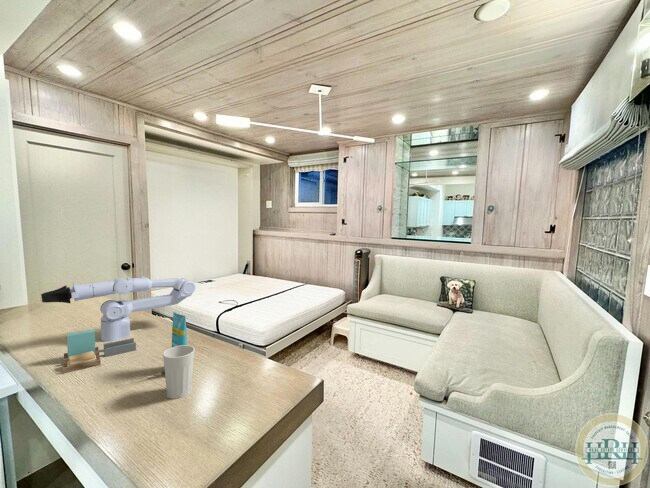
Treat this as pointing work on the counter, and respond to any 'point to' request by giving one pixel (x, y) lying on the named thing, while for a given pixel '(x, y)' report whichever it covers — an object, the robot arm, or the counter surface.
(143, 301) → the robot arm
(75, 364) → the offcut low
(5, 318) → the counter surface
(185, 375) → the cup
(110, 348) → the holder
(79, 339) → the teal block
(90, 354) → the offcut top
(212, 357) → the counter surface
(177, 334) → the tube
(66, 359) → the rack
